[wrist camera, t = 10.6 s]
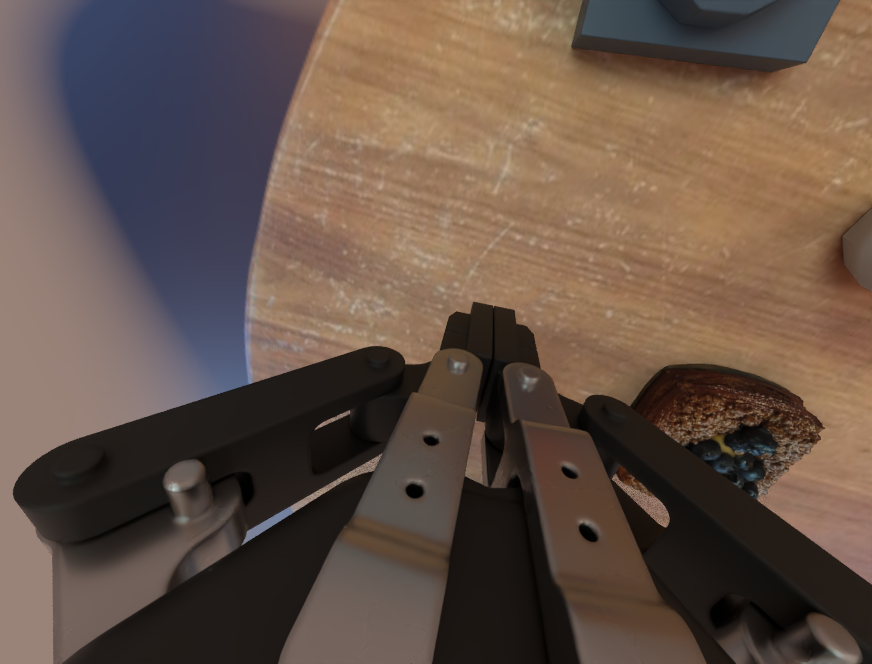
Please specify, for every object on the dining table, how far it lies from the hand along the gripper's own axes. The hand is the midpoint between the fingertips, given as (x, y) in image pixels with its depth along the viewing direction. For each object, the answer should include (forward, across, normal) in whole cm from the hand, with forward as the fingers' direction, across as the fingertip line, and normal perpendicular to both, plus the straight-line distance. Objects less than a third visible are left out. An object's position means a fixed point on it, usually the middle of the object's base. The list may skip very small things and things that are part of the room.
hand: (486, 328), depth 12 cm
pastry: (+12, -19, +11) cm, 26 cm away
